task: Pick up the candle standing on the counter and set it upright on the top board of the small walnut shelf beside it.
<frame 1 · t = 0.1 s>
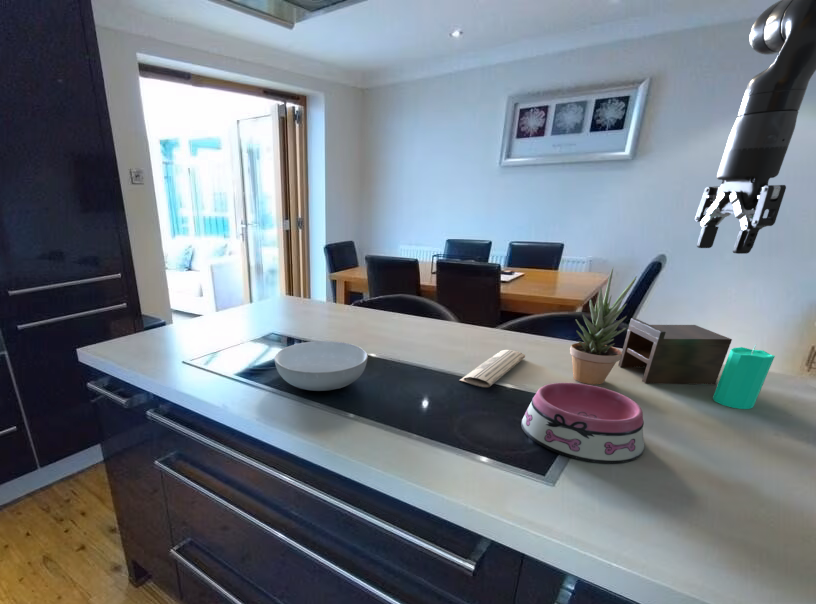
hand: (721, 250, 77), 29 cm above the worktop, tool pointing down, fingers open, 8 cm apart
shelf: (663, 374, 100), on the worktop
dog bowl: (578, 435, 77), on the worktop
serving bowl: (321, 383, 102), on the worktop
candle: (732, 403, 87), on the worktop
potted plant: (587, 379, 99), on the worktop
newspaper: (493, 370, 106), on the worktop
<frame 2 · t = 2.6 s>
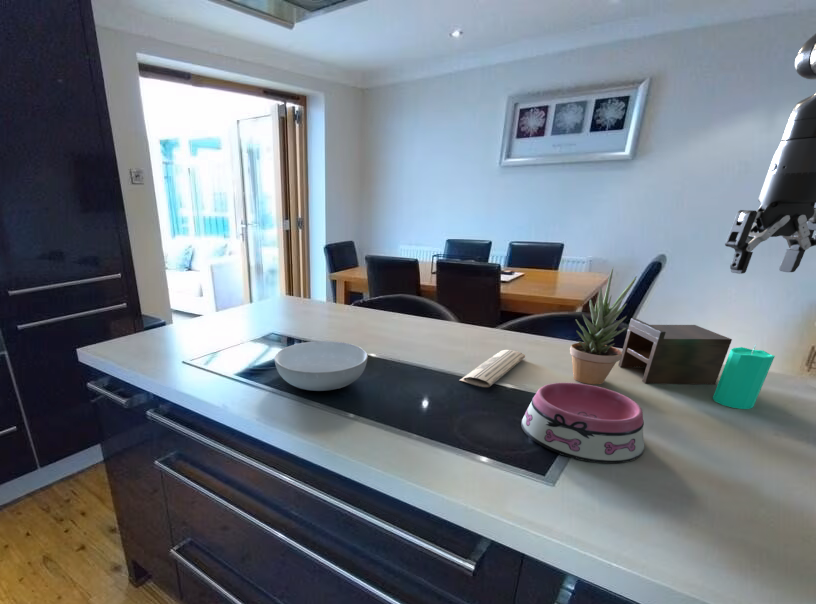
hand: (762, 272, 78), 25 cm above the worktop, tool pointing down, fingers open, 8 cm apart
nothing on the worktop moved.
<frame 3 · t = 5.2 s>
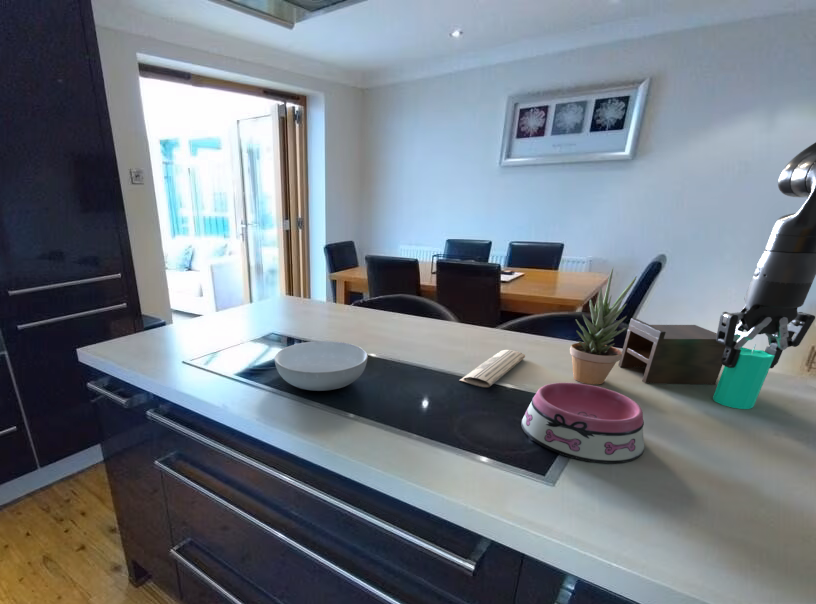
hand: (747, 366, 84), 8 cm above the worktop, tool pointing down, fingers closed on candle, 6 cm apart
candle: (732, 403, 87), on the worktop, touching gripper
everything else where it was.
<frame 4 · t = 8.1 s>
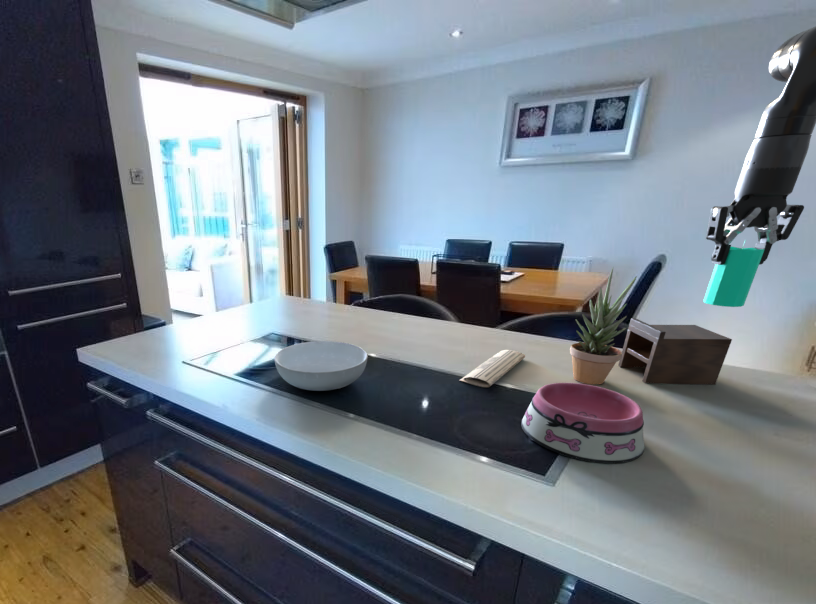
hand: (736, 263, 84), 26 cm above the worktop, tool pointing down, fingers closed on candle, 6 cm apart
candle: (722, 304, 87), point 18 cm above the worktop, touching gripper
everything else where it was.
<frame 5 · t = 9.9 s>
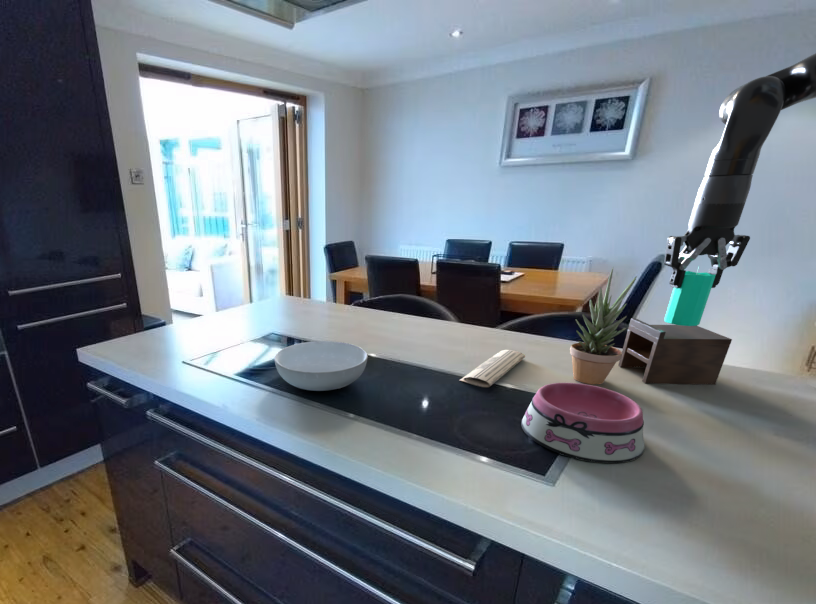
hand: (692, 287, 92), 20 cm above the worktop, tool pointing down, fingers closed on candle, 6 cm apart
candle: (680, 323, 95), point 12 cm above the worktop, touching gripper
everything else where it was.
when the fingers open (18 cm above the worktop, at t = 11.1 s): candle stays where it is, resting on shelf.
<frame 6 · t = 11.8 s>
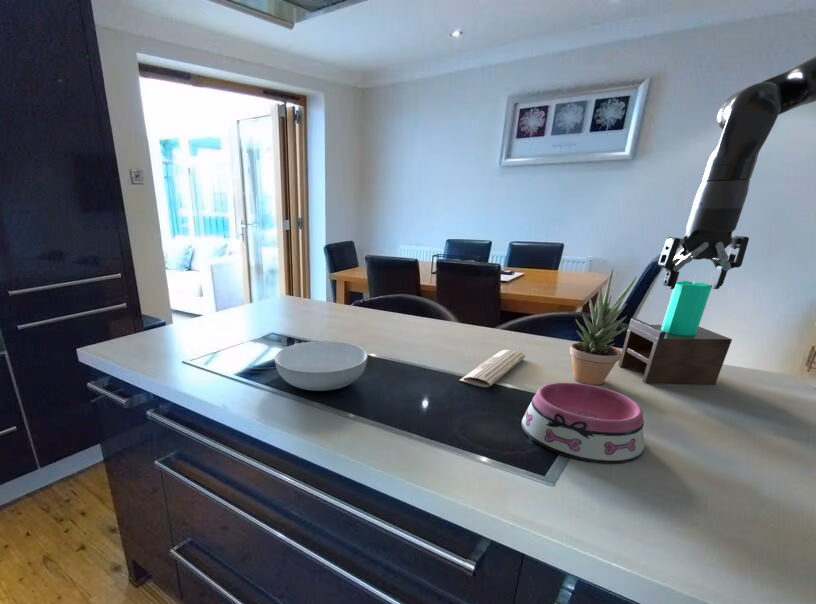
hand: (691, 288, 93), 20 cm above the worktop, tool pointing down, fingers open, 8 cm apart
candle: (678, 332, 96), point 10 cm above the worktop, touching shelf
everything else where it was.
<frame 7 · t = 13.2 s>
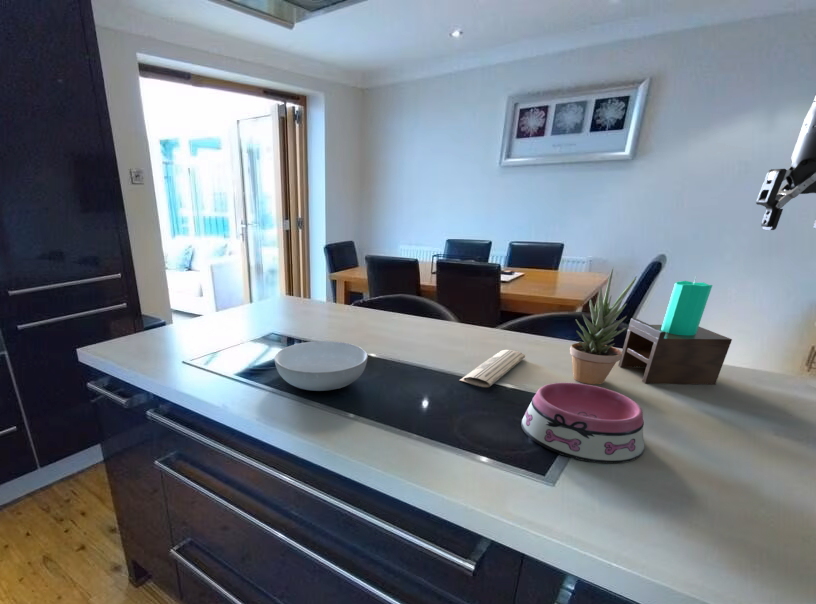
hand: (794, 229, 82), 32 cm above the worktop, tool pointing down, fingers open, 8 cm apart
nothing on the worktop moved.
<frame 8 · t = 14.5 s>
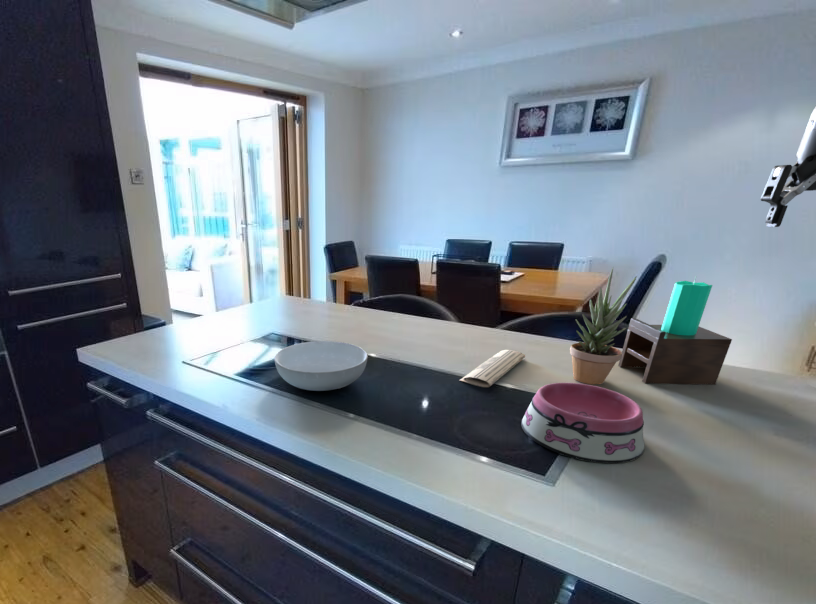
hand: (798, 226, 81), 32 cm above the worktop, tool pointing down, fingers open, 8 cm apart
nothing on the worktop moved.
at the end: candle inside the target area on the shelf (0.1 cm from its centre), point 10.0 cm above the shelf's base; candle tilted 0° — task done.
